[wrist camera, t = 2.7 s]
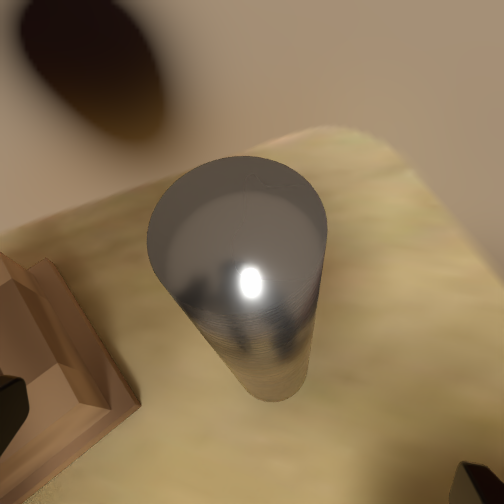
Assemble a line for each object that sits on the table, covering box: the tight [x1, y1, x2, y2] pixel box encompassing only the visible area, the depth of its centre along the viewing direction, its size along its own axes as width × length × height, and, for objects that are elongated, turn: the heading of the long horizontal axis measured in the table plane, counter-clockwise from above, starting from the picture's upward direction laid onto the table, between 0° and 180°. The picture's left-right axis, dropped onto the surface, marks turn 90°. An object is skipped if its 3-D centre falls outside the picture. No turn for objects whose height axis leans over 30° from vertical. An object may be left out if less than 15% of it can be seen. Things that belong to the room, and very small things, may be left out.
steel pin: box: [147, 156, 327, 402], centre depth 13 cm, size 3×3×13 cm
